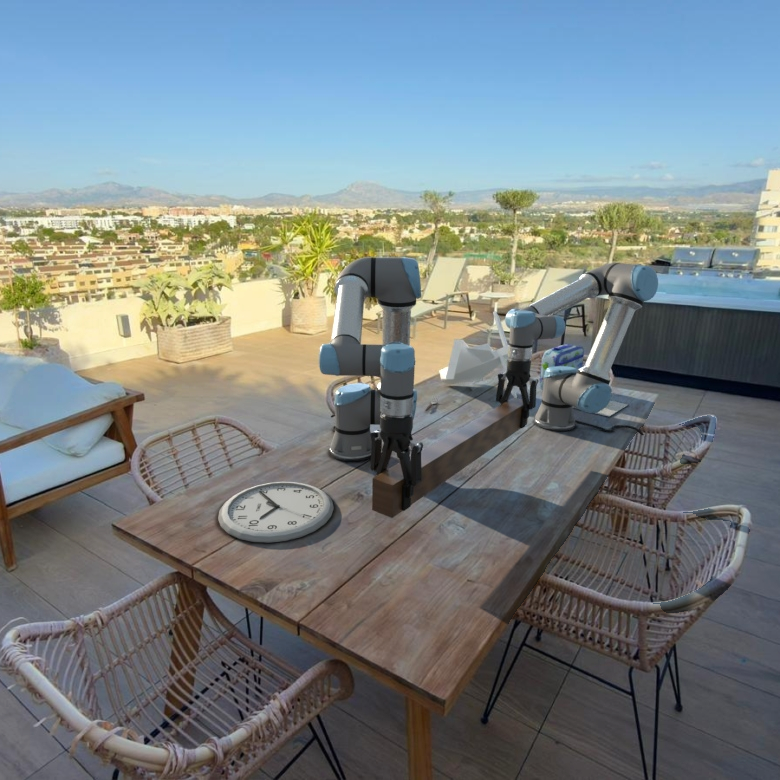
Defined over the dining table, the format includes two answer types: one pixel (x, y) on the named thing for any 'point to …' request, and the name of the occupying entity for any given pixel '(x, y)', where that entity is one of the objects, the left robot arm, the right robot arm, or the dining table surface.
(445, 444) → the bar
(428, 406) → the fork
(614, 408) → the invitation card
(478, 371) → the white plastic object
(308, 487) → the wall clock
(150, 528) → the dining table surface
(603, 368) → the right robot arm
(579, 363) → the lunch box
